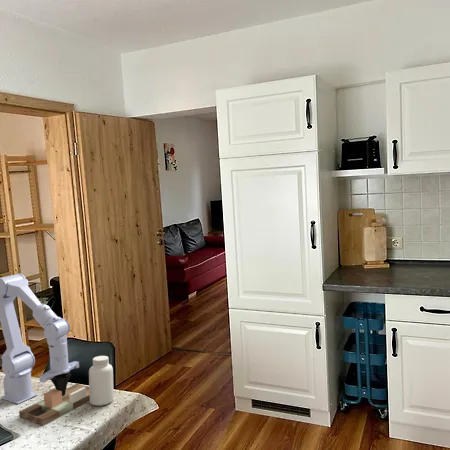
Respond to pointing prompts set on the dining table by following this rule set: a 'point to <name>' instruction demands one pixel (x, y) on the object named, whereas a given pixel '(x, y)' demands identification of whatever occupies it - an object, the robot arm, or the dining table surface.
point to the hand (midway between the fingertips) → (61, 395)
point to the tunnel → (75, 394)
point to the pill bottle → (101, 381)
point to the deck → (47, 414)
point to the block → (52, 398)
